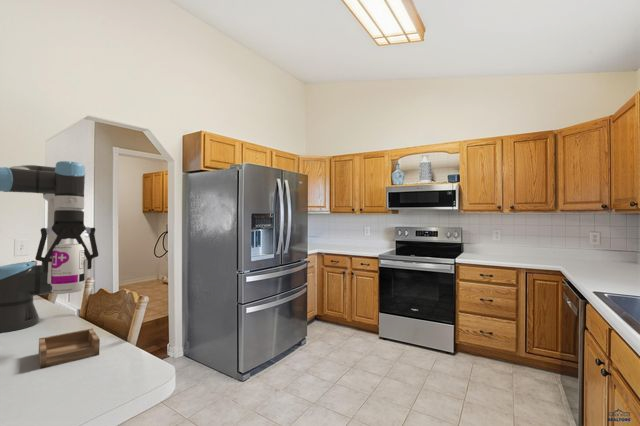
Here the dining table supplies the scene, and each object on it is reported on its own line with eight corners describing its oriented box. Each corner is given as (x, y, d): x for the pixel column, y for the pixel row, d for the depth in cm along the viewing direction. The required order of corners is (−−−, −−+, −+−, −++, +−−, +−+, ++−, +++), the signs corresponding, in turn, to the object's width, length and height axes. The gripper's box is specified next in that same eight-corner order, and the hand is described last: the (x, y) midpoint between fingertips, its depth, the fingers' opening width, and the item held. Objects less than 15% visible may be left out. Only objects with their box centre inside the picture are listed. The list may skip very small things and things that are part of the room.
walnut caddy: (38, 353, 93) (39, 338, 93) (92, 342, 102) (92, 328, 102) (40, 368, 83) (40, 351, 84) (99, 354, 92) (99, 339, 92)
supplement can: (65, 294, 94) (66, 244, 95) (43, 294, 96) (44, 245, 97) (90, 289, 102) (91, 243, 103) (69, 289, 104) (70, 243, 105)
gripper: (24, 208, 91) (22, 287, 89) (110, 210, 105) (109, 278, 104) (24, 209, 96) (22, 284, 95) (106, 211, 111) (105, 276, 109)
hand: (67, 281), depth 99 cm, fingers closed on supplement can, 8 cm apart
